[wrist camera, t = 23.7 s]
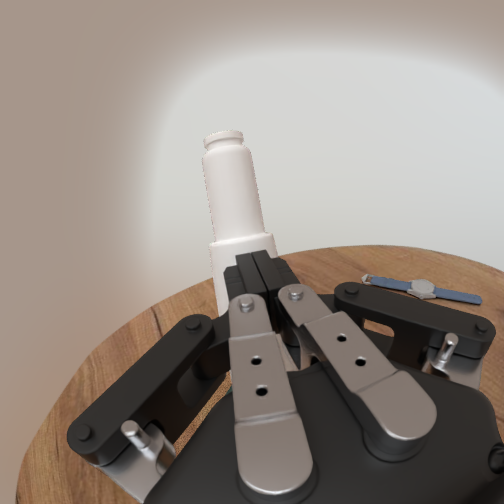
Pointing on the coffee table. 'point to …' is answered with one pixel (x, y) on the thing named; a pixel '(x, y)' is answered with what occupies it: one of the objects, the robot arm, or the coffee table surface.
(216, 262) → the cosmetic bottle
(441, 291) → the wristwatch
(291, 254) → the coffee table surface
